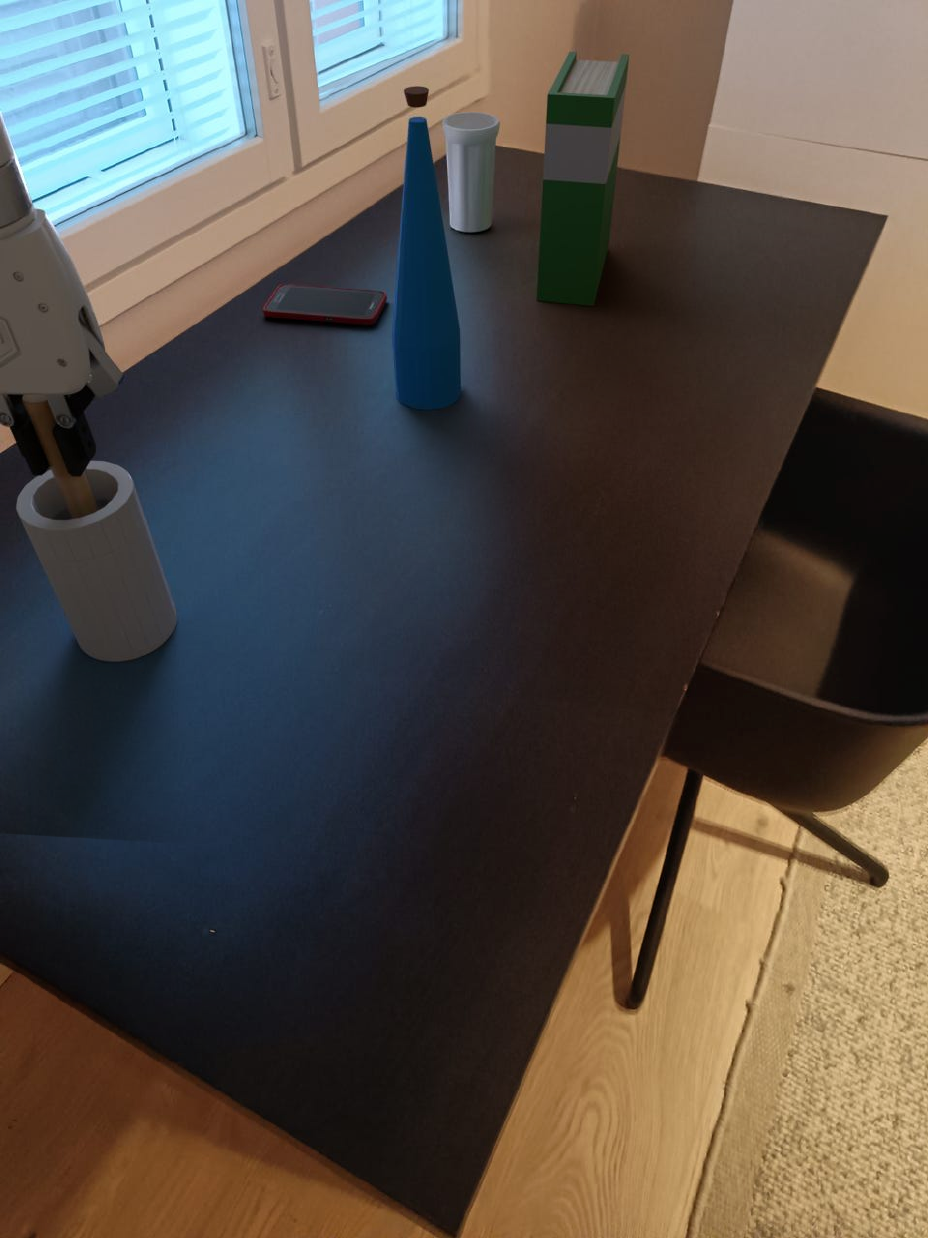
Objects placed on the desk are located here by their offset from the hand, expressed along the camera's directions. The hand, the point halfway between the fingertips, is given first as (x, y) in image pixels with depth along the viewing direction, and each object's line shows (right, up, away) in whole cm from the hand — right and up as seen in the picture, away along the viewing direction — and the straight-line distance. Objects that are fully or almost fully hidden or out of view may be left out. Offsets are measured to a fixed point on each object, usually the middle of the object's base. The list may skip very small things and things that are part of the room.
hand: (64, 463), depth 64 cm
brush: (0, -7, +8) cm, 11 cm away
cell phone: (+11, +29, +51) cm, 60 cm away
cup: (+29, +47, +69) cm, 89 cm away
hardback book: (+43, +36, +58) cm, 81 cm away
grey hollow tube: (0, -12, +12) cm, 17 cm away
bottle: (+24, +14, +38) cm, 47 cm away
